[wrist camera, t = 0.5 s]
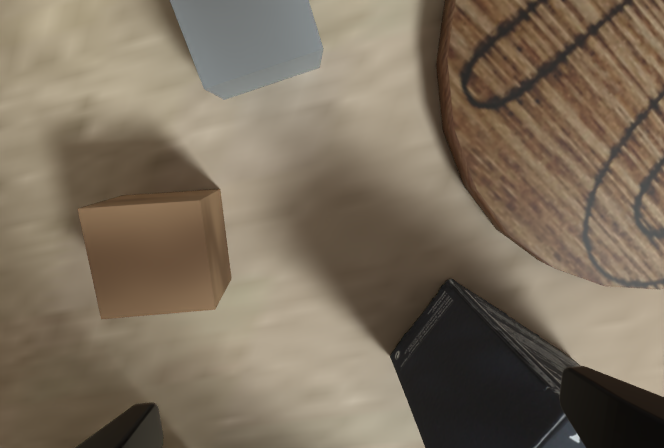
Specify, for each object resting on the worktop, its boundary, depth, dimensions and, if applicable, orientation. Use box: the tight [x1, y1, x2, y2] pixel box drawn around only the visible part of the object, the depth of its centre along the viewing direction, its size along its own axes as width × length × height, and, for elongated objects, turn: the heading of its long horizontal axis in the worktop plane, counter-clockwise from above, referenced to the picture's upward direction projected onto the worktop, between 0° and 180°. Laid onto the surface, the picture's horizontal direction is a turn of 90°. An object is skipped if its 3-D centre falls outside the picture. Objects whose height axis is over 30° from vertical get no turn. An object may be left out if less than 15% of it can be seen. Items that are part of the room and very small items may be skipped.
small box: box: [390, 279, 586, 448], centre depth 18 cm, size 11×6×10 cm, turn 56°
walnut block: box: [78, 189, 231, 319], centre depth 18 cm, size 5×5×4 cm
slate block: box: [170, 0, 323, 100], centre depth 16 cm, size 5×5×4 cm
